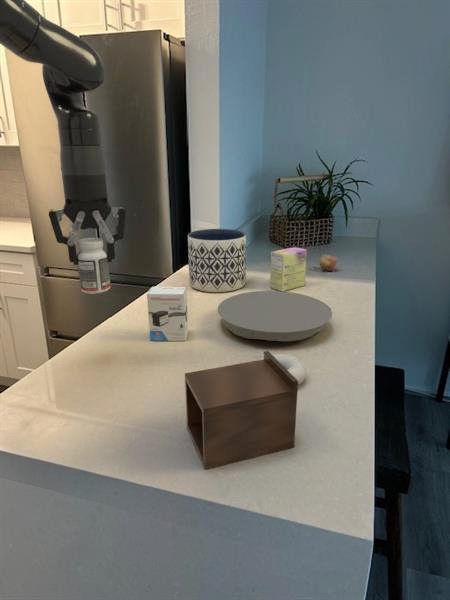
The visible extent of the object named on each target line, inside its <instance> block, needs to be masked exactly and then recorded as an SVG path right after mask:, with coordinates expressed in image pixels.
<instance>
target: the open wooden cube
mask: <svg viewBox="0 0 450 600" xmlns="http://www.w3.org/2000/svg"><path fill="white" fill-rule="evenodd" d="M263 357H264V359H263V360H259V359H257V360H252V361H248V362H242V363H241V362H240V363H235V364H229V365H224V366H219V367H212V368H206V369H201V370H196V371H190V372H185V373H184V391H185V415H186V416H185V418H186V430H187V431H188V434H189V436H190V438H191V441H192V443H193V445H194V447H195V450H196V452H197V454H198V456H199V457H198V458H199V459H200V461H201V463H202V466H203V468H204V470H209V469H213V468H217V467H221V466H225V465H228V464H229V465H230V464H233V463H237V462H240V461H244V460H248V459H252V458H253V459H254V458H256V457H261V456H264V455H268V454H273V453H276V452H280V451H281V452H282V451H284V450H288V449H292V448H294V447H295V439H296V421H297V420H296V419H297V406H298V405H297V404H298V390H299V384H298V380H297V379H296V378H295V377H294V376H293V375H292V374H291V373H290V372H289V371H288V370H287V369H286V368H285V367H284V366H283V365H282V364H281V363H280V362H279V361H278V360H277V359H276V358H275V357H274V356H273V355H272V353H271V352H270V351H269V350H265V351H263Z"/></svg>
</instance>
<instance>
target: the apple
mask: <svg viewBox="0 0 450 600" xmlns="http://www.w3.org/2000/svg"><path fill="white" fill-rule="evenodd" d="M318 261H319V266H320V269H321V270H322V271H325V272H333V271H334V270H335V268H336V265H337V263H338V259H337V257H336V256H335V255H331V254H327V253H325V254H323V255H321V257H320V258H319V260H318Z"/></svg>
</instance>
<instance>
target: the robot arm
mask: <svg viewBox="0 0 450 600" xmlns="http://www.w3.org/2000/svg"><path fill="white" fill-rule="evenodd" d="M0 45H1V46H2V47H4V48H5V49H7V50H8V51H10V52H11V53H13V54H14V55H15V56H17V57H19V58H20V59H22V60H23V61H26V62H29V63H34V64H39V65H41V66H42V67H41V72H42V73H41V74H42V79H43V80H42V81H43V84H44V87H45V90H46V93H47V96H48V100H49V102H50V105H51V108H52V110H53V113H54V115H55V117H56V120H57V131H58V139H59V151H60V152H59V153H60V154H59V159H60V160H59V161H60V171H61V177H62V187H63V195H64V205H63V207H62V208H59V209H53V208H51V209H50V210H48V218H49V220H50V223H51V227H52V230H53V234H54V236H55V240H56V243H58V244H63V245H66V247H67V251H68V260H69V262H70V263H73V266H78V262H77V254H78V252H77V245H76V241H77V237H78V235H79V232H80V230H88V229H92V230H93V229H95V230H96V229H100V230H101V232H102V234H103V235H104V237H105V239H106V241H105V249H106V250H105V251H106V252H107V256H108V264H109V263H112V262H113V260H115V258H116V251H115V250H116V249H115V243H116V242H117V241H119V240H120V241H121V240H123V239H124V235H125V222H126V216H127V215H126V214H127V211H126V209H125V208H124V207H123V206H118V207H117V206H111V205H110V203H109V200H108V199H109V197H108V187H107V176H106V165H105V157H104V156H105V155H104V152H103V146H102V136H101V135H102V134H101V124H100V118H99V115H98V114H97V113H96V111H94V110H92V109H89V108H86V106H85V104H84V101H83V98H82V95H81V94H85V93H91V92H94V91H98V89H100V88H101V86H102V85H103V84H104V82H105V77H106V71H105V66H104V63H103V61H102V58H101V57H100V55H99V53H98V52H97V51H96V50H95V49H94V48H93V46H91V44H89V43H88V42H87V41H85V40H84V39H82V38H81V37H80V36H77V35H76V34H74V33H73V32H71V31H69V30H68V29H65V28H64V27H62V26H60V25H58V24H57V23H54V22H52V21H50V20H49V19H47V18H46V17H45V16H43V15H42V14H41V13H40V12H39V11H38V10H37V9H36V8H34V7H33V6H32V5H31V4H29V3H28V2H27V1H26V0H0ZM111 213H112V215H113V217H114V219H116V225H115V232H113V233H111V231H110V229H109V228H108V226H107V224H106V220H107V219H108V217H109V215H110V214H111ZM63 215H65V216H66V217H67V218H68V220H69V221H71V227H70V230H69V233H68V236H67V235H64V234H63V231H62V227H61V224H60V222H62V220H63Z"/></svg>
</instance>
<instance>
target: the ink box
mask: <svg viewBox="0 0 450 600" xmlns="http://www.w3.org/2000/svg"><path fill="white" fill-rule="evenodd" d="M146 301H147V314H148V315H147V316H148V327H149V340H150V341H151V342H186V341H187V338H188V334H189V319H188V318H189V317H188V288H187V287H185V286H152V287H150V288H149V289H148V292H147V293H146Z"/></svg>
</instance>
